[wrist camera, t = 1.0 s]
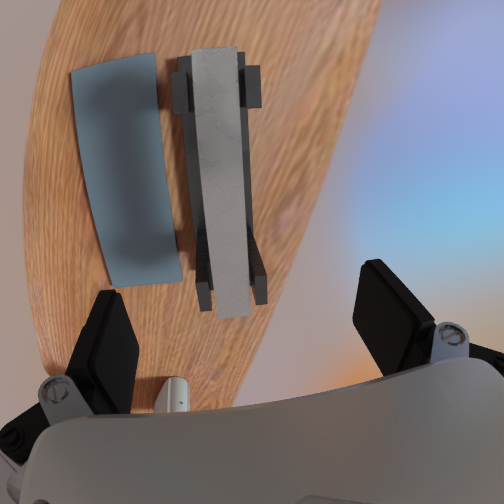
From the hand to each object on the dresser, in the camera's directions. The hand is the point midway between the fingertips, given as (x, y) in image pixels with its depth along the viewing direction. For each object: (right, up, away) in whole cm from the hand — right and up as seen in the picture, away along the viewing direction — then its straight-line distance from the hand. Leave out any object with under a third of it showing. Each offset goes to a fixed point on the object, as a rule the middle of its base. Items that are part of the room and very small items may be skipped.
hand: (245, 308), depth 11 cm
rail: (-2, +7, +13) cm, 15 cm away
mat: (-13, +10, +19) cm, 25 cm away
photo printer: (-14, -22, +36) cm, 44 cm away
